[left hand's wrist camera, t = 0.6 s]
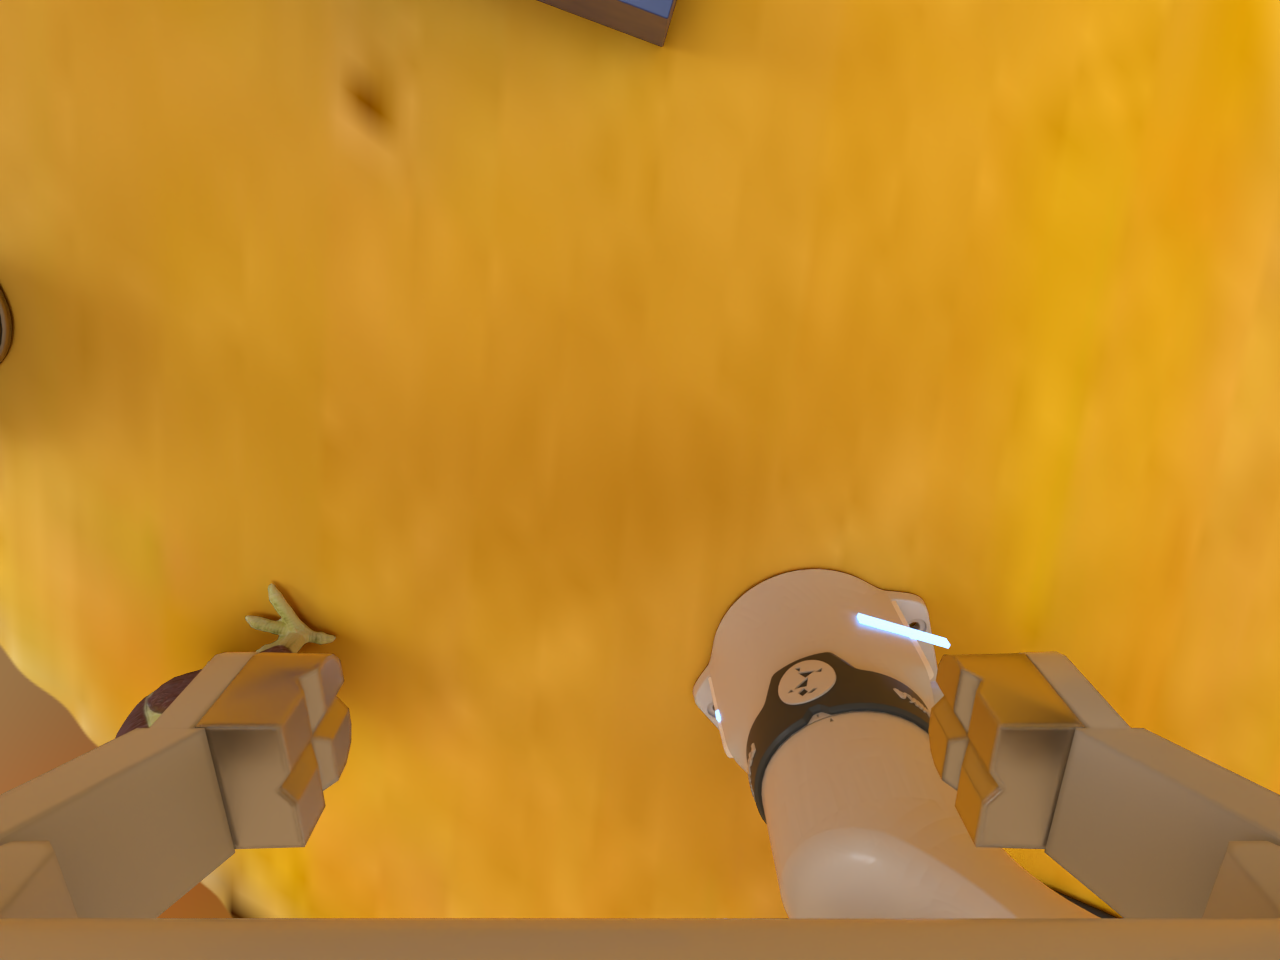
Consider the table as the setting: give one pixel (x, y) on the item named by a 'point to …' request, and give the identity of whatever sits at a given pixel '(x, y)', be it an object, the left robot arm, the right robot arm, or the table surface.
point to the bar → (625, 15)
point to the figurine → (158, 701)
